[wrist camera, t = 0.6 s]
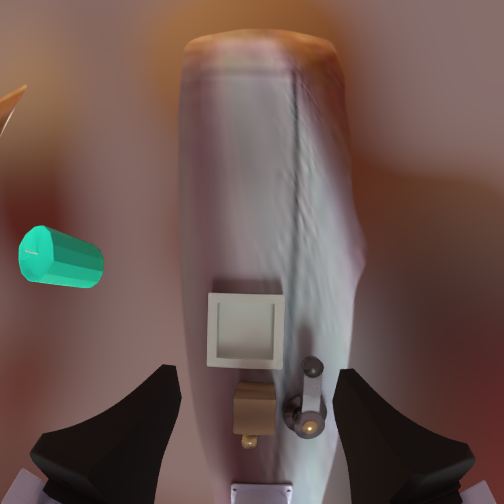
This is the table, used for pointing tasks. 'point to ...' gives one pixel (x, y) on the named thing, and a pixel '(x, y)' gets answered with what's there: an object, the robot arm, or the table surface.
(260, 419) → the block
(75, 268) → the candle
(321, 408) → the crank base
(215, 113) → the table surface
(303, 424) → the crank
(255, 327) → the tray
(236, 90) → the table surface
